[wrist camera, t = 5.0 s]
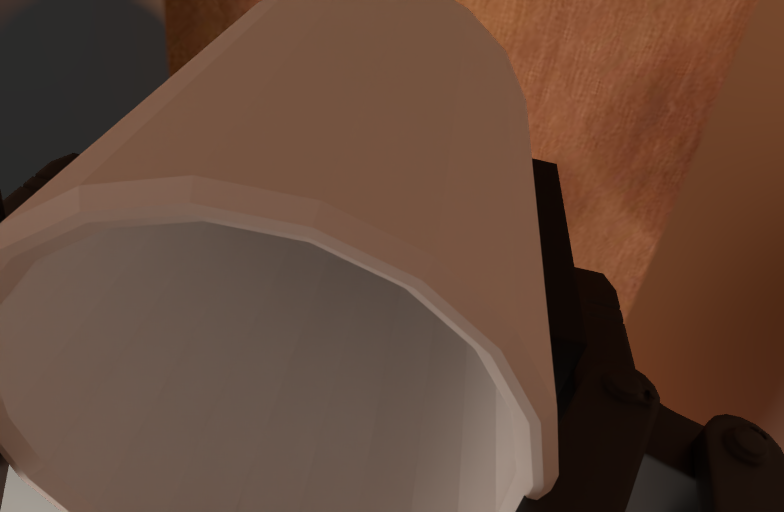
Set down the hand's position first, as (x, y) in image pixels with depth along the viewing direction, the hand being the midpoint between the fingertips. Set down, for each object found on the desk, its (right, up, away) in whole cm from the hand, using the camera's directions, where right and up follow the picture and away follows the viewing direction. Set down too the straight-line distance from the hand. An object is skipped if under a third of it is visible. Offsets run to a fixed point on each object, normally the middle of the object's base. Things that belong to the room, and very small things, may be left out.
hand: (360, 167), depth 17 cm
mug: (0, -1, +1) cm, 1 cm away
